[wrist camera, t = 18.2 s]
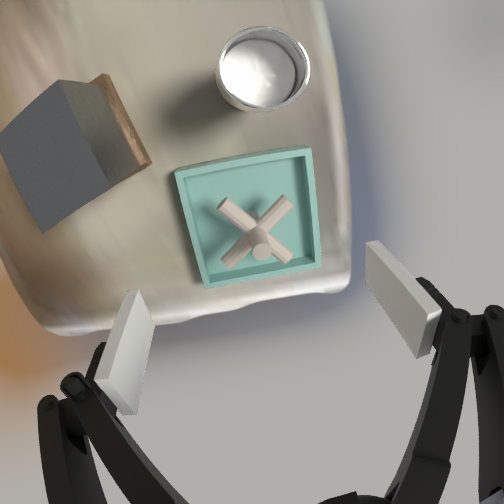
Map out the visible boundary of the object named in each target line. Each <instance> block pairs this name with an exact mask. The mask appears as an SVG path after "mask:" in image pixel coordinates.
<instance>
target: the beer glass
mask: <svg viewBox="0 0 504 504" xmlns="http://www.w3.org/2000/svg"><path fill="white" fill-rule="evenodd" d="M215 77H216V83H217V86H218V89H219V91H220V93H221V94H222V96H223V97H224V98H225V100H226V101H227V102H228V103H230V104H231V105H232V106H234V107H236V108H237V109H240V110H242V111H245V112H249V113H267V112H272V111H275V110H278V109H280V108H283V107H285V106H288V105H289V104H291V103H293V102H294V101H295V100H297V99H298V98H299V97H300V96H301V94H302V93H303V92H304V90H305V89H306V87H307V84H308V82H309V78H310V61H309V58H308V55H307V53H306V51H305V49H304V47H303V46H302V45H301V43H300V42H299V41H298V40H297V39H296V38H294V37H293V36H292V35H290V34H289V33H287V32H285V31H283V30H281V29H278V28H274V27H268V26H257V27H251V28H248V29H245V30H242V31H240V32H238V33H237V34H235V35H234V36H232V37H231V38H230V39H229V40H228V41H227V42H226V44H225V45H224V46H223V48H222V50H221V52H220V55H219V58H218V61H217V64H216V72H215Z"/></svg>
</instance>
